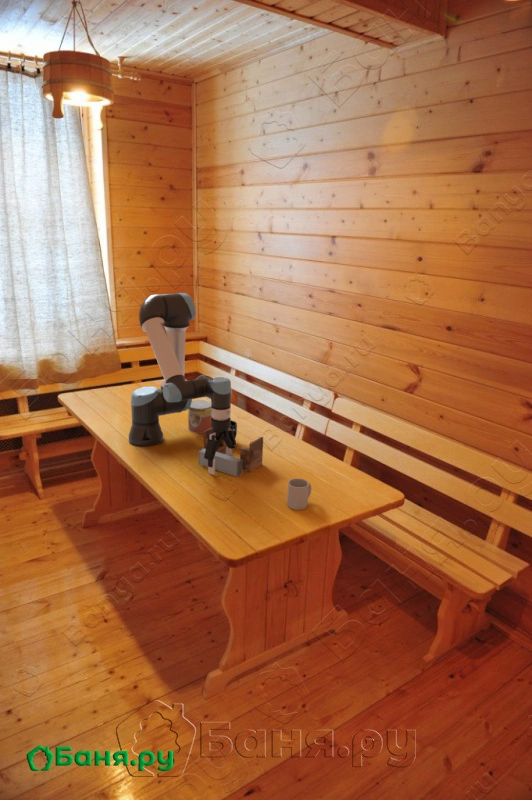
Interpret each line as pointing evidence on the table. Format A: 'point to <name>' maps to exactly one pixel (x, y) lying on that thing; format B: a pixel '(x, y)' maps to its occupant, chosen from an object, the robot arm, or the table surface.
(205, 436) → the post head
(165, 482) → the table surface
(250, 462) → the post foot
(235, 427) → the mug
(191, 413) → the canned food
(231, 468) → the rail
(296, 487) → the cup
